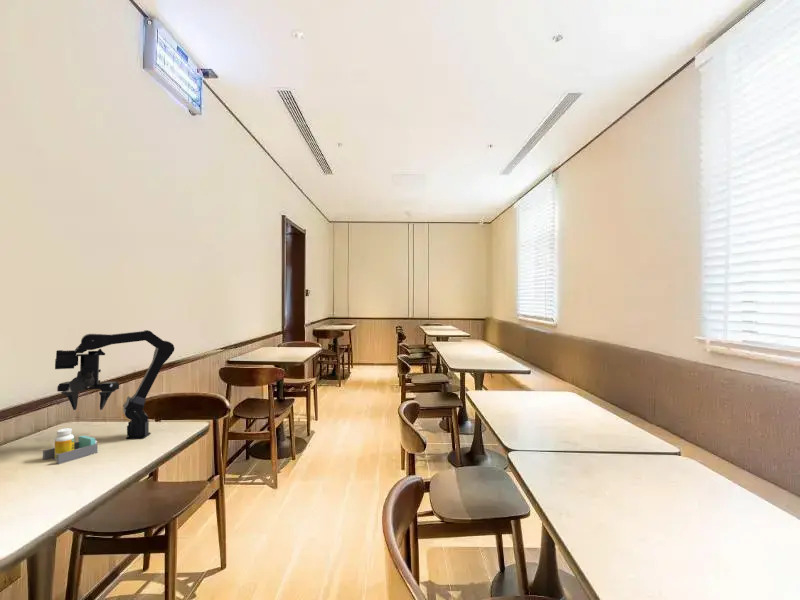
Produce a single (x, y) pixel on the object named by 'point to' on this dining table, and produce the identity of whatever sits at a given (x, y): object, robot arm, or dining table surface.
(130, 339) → the robot arm
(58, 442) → the supplement bottle
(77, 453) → the lane
